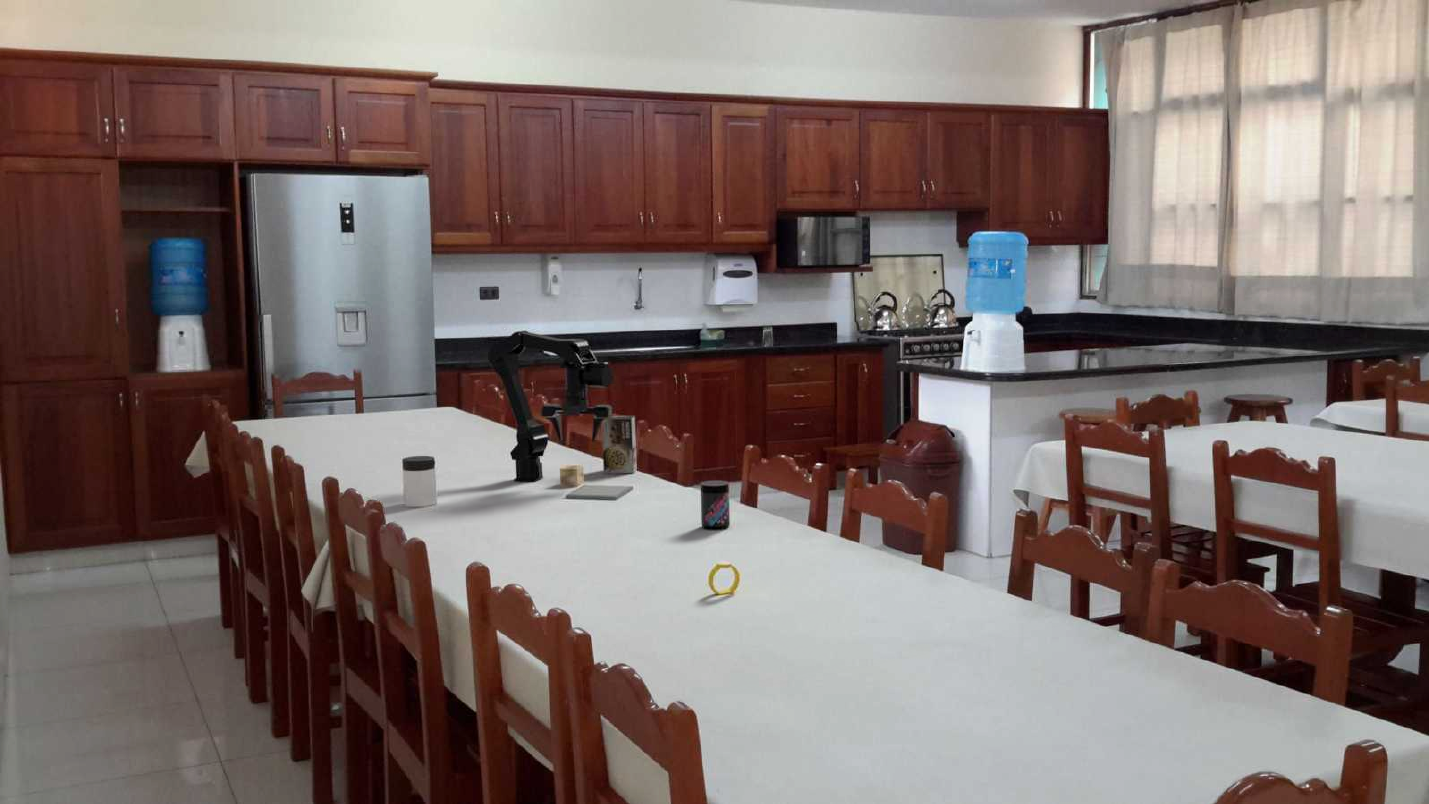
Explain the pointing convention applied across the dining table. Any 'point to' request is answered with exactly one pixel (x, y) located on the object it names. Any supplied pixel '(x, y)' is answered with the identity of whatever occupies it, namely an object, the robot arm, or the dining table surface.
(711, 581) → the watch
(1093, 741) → the dining table surface
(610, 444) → the coffee box
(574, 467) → the maple cube
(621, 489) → the mat
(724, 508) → the supplement container
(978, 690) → the dining table surface
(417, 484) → the jar
